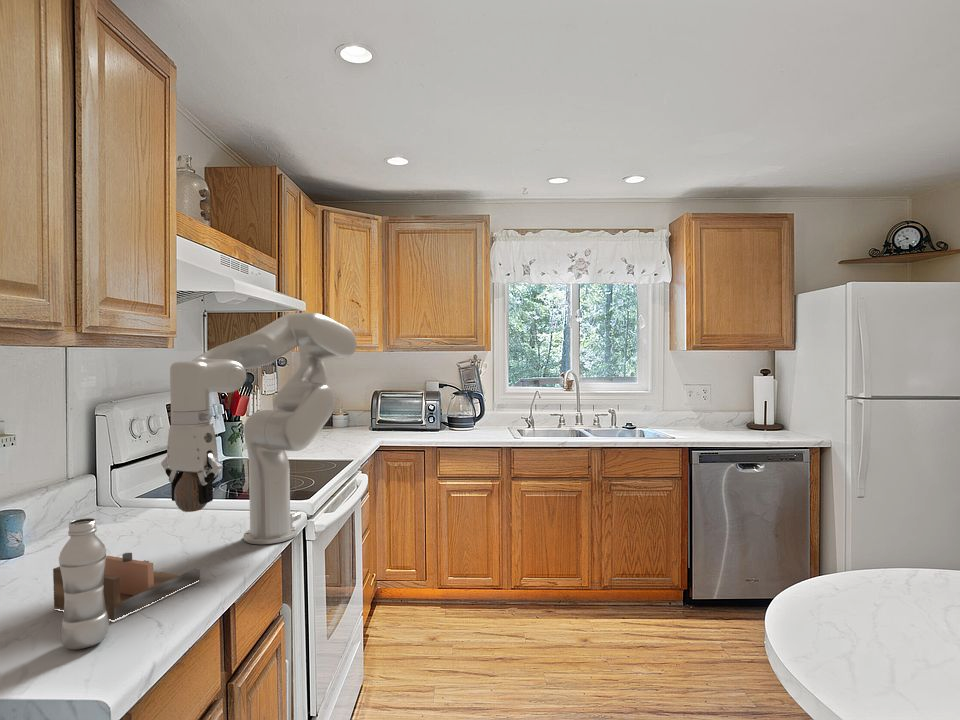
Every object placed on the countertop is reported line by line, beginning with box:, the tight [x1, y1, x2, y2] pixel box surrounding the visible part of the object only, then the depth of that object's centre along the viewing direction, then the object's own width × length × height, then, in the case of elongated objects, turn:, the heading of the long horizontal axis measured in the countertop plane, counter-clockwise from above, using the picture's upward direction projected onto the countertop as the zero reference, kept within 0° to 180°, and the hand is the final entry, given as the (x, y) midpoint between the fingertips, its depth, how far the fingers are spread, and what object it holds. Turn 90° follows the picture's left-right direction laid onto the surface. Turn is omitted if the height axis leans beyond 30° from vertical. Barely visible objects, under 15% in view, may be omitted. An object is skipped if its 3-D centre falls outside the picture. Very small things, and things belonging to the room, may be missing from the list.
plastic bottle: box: [58, 517, 110, 650], centre depth 97 cm, size 6×7×20 cm
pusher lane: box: [52, 560, 201, 620], centre depth 116 cm, size 19×15×8 cm
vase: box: [174, 472, 208, 513], centre depth 130 cm, size 7×7×9 cm
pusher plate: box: [104, 552, 154, 596], centre depth 115 cm, size 2×12×8 cm, turn 70°
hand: (192, 500), depth 130 cm, fingers closed on vase, 6 cm apart
